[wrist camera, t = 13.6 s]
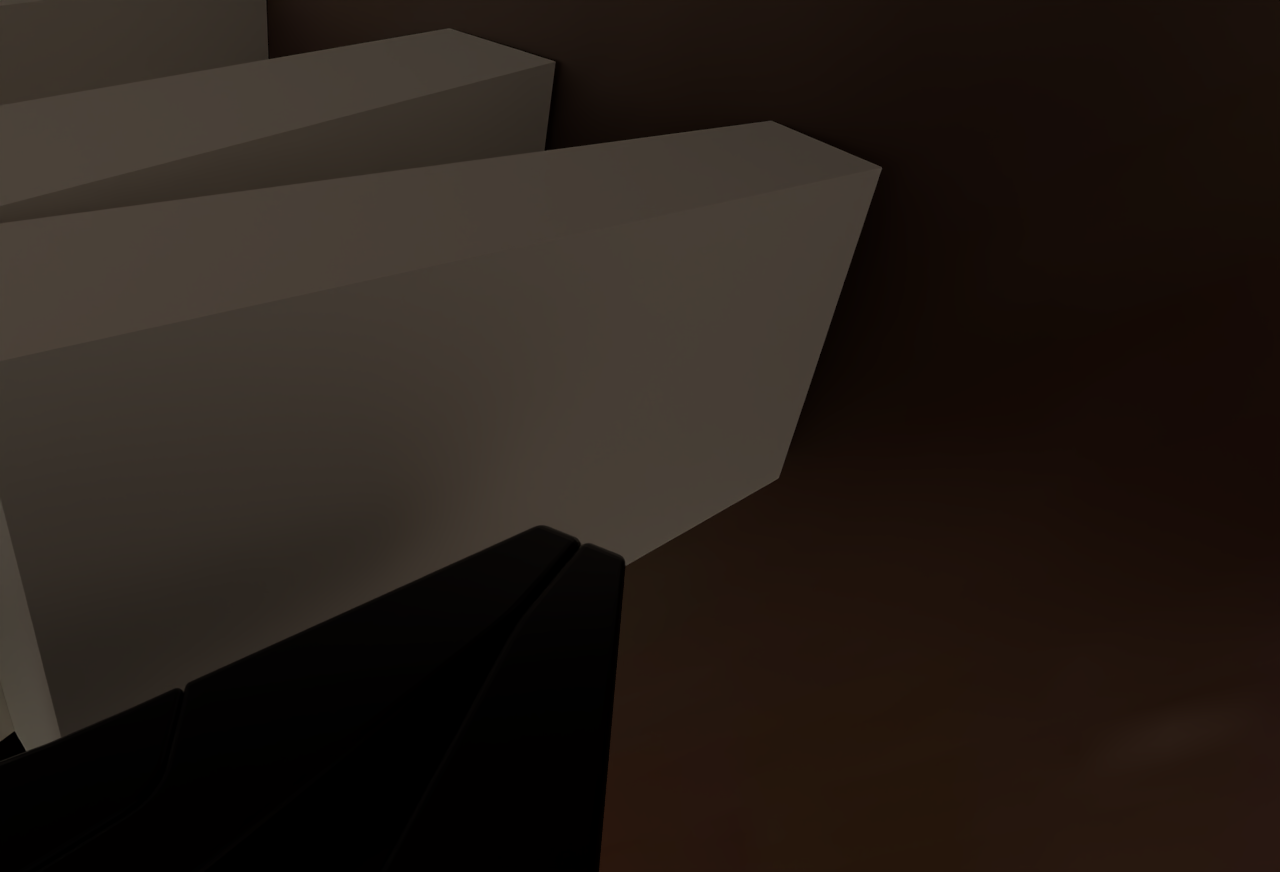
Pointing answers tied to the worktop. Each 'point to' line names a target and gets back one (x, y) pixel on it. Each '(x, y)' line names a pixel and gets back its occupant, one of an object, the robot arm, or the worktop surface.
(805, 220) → the domino
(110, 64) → the domino
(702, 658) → the worktop surface
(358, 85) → the domino
